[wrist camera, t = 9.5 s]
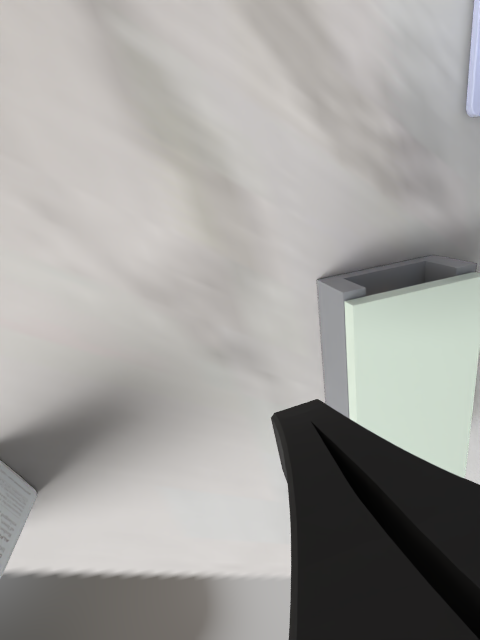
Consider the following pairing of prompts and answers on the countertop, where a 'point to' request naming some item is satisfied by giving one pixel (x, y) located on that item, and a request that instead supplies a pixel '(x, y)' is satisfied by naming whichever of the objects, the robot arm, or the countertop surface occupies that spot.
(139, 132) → the countertop surface
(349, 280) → the grey open tray
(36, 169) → the countertop surface
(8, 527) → the skincare box
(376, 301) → the cover
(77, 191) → the countertop surface
